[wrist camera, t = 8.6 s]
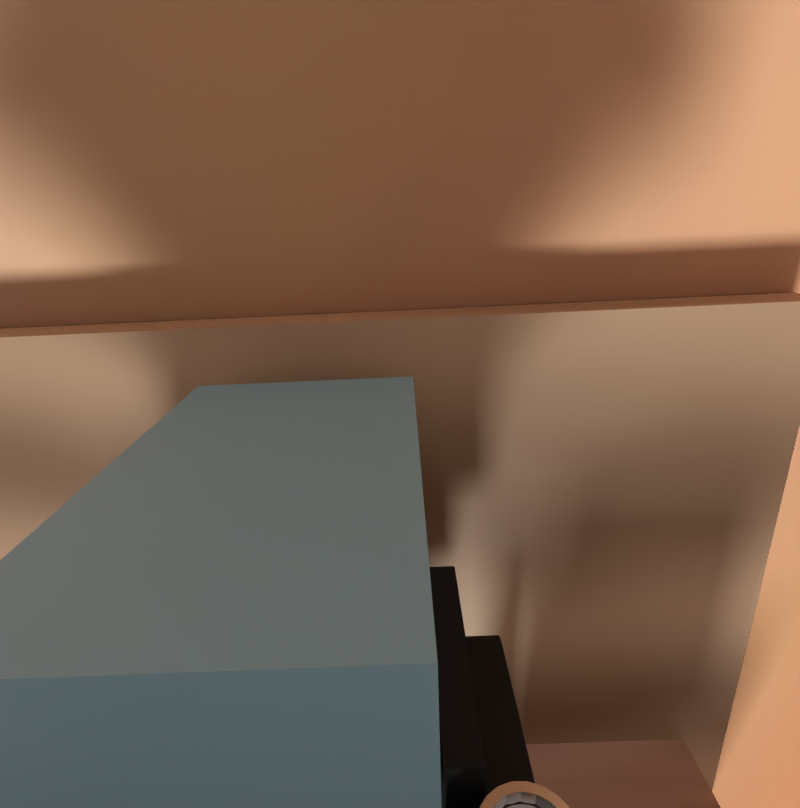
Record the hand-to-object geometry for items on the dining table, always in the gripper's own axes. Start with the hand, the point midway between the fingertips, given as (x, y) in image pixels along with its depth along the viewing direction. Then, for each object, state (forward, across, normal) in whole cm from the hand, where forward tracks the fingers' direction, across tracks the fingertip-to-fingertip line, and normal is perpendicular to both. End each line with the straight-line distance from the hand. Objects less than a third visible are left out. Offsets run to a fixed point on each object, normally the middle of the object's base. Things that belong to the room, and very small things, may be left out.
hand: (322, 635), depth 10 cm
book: (+1, 0, 0) cm, 1 cm away
